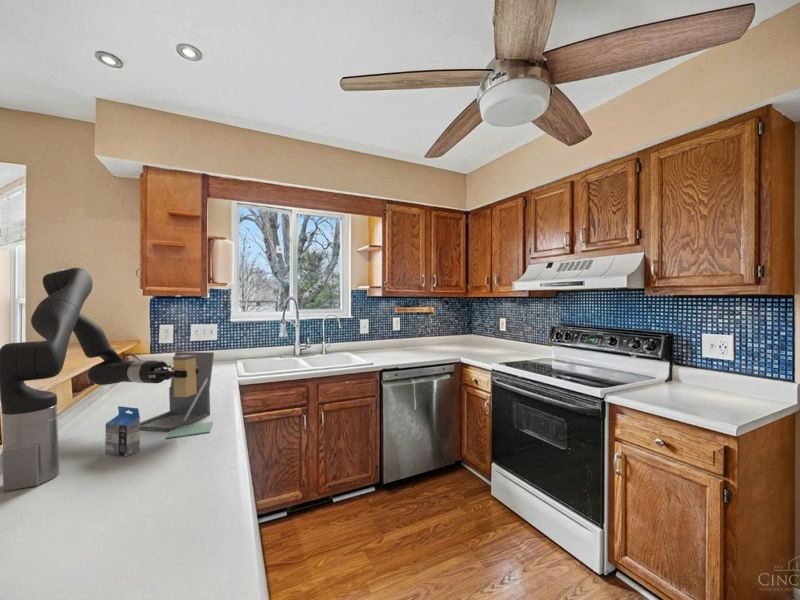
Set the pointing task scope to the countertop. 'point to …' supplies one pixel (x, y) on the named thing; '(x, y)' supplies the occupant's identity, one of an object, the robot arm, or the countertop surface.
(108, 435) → the label tape box
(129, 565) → the countertop surface
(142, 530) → the countertop surface
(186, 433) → the mat
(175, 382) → the block
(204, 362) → the case
